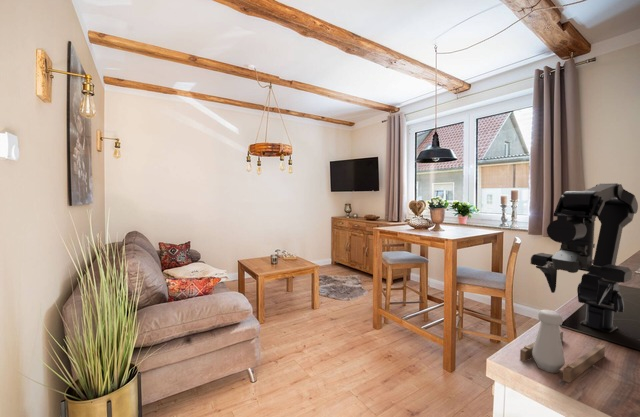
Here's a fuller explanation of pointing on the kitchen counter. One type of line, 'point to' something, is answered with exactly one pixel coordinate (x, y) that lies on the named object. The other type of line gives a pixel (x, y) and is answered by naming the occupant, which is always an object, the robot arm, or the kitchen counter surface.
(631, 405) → the kitchen counter surface
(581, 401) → the kitchen counter surface
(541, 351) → the salt shaker
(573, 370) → the pair of wooden rails
